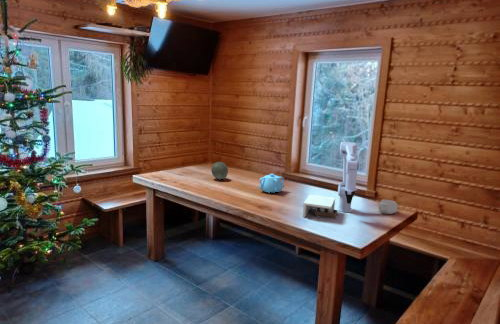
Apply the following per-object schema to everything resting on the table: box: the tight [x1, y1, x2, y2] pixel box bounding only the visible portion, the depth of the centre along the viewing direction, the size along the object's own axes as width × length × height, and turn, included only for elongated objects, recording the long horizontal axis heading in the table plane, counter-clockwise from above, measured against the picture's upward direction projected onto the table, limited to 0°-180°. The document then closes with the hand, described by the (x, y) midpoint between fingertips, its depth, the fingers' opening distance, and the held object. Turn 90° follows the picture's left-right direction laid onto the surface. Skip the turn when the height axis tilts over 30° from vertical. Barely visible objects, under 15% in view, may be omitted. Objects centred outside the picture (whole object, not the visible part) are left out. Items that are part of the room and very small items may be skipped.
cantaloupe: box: [210, 161, 229, 181], centre depth 289 cm, size 14×14×15 cm
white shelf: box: [302, 194, 336, 218], centre depth 211 cm, size 20×16×9 cm
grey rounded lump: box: [378, 199, 399, 215], centre depth 219 cm, size 9×11×15 cm
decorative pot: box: [258, 173, 285, 194], centre depth 258 cm, size 16×16×14 cm
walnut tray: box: [314, 206, 339, 220], centre depth 209 cm, size 8×12×6 cm, turn 70°
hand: (348, 203), depth 205 cm, fingers closed
